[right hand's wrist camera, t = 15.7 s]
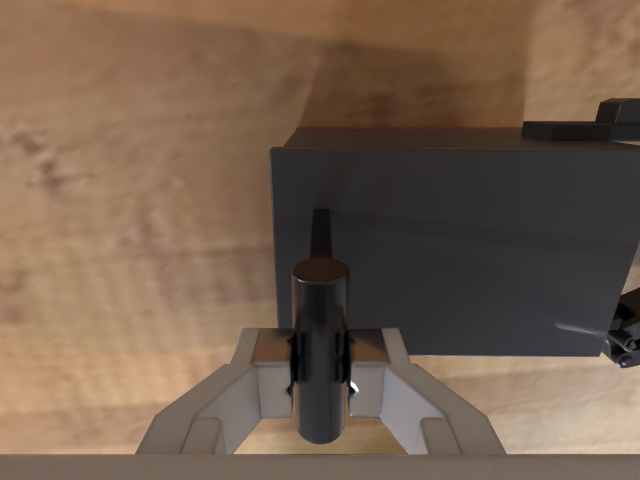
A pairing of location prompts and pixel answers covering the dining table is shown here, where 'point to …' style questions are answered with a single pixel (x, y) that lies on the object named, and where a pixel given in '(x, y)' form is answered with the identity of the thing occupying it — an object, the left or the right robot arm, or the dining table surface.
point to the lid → (447, 254)
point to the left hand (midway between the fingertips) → (515, 229)
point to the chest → (429, 138)
